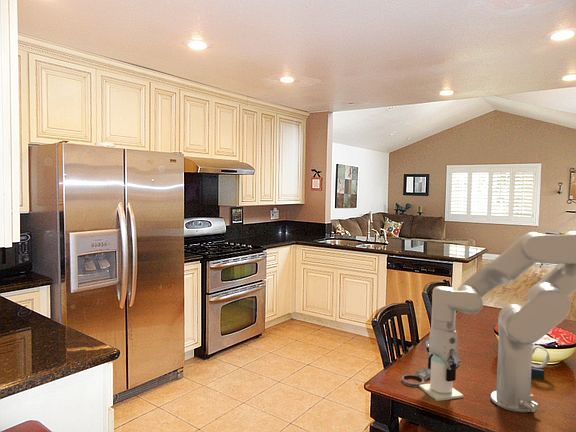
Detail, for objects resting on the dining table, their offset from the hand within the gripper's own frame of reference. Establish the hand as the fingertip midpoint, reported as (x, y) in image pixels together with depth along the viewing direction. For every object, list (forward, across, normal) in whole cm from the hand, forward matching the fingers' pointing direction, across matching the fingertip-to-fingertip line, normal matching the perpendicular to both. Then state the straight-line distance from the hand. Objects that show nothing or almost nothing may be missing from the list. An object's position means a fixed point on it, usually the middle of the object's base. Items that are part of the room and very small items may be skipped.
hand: (441, 374), depth 141 cm
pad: (+6, 0, 0) cm, 6 cm away
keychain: (+7, +11, 0) cm, 13 cm away
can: (+6, 0, 0) cm, 6 cm away
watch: (+6, +3, -43) cm, 44 cm away
